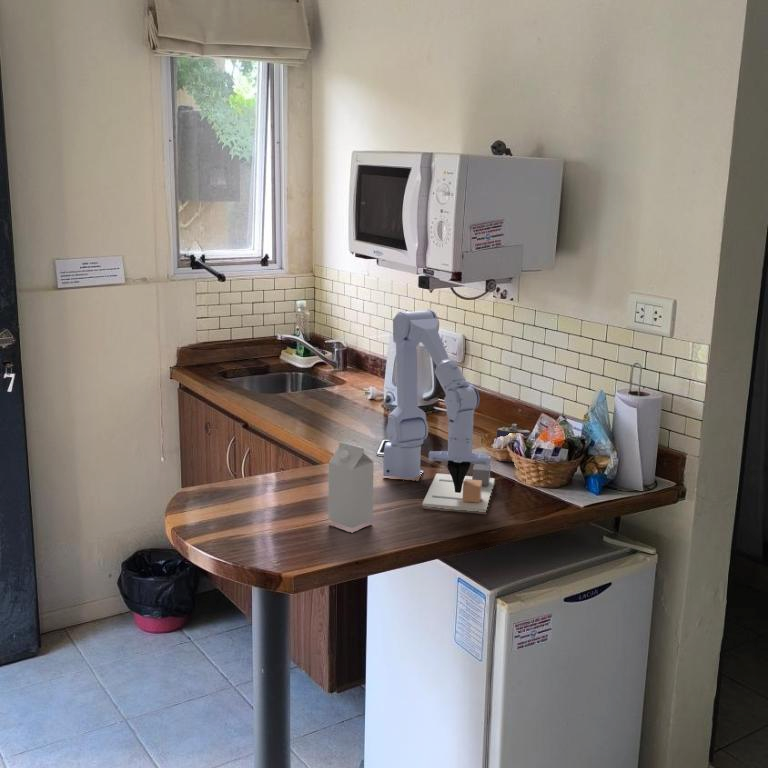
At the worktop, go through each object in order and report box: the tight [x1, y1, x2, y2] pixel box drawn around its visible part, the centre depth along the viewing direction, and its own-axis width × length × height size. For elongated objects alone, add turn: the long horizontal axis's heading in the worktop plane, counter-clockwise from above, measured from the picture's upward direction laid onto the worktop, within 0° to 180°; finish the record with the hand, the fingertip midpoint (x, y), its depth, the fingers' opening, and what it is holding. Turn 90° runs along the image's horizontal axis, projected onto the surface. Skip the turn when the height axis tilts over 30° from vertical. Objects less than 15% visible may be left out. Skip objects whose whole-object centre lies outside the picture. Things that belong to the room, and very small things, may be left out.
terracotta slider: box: [463, 479, 482, 502], centre depth 219 cm, size 4×4×4 cm
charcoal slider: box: [472, 464, 491, 486], centre depth 230 cm, size 4×4×4 cm
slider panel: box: [421, 473, 496, 512], centre depth 226 cm, size 15×22×2 cm
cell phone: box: [375, 438, 390, 455], centre depth 262 cm, size 8×15×1 cm, turn 173°
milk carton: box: [327, 441, 374, 528], centre depth 204 cm, size 7×7×19 cm
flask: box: [496, 423, 531, 438], centre depth 252 cm, size 9×3×11 cm, turn 78°
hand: (458, 491), depth 220 cm, fingers closed
